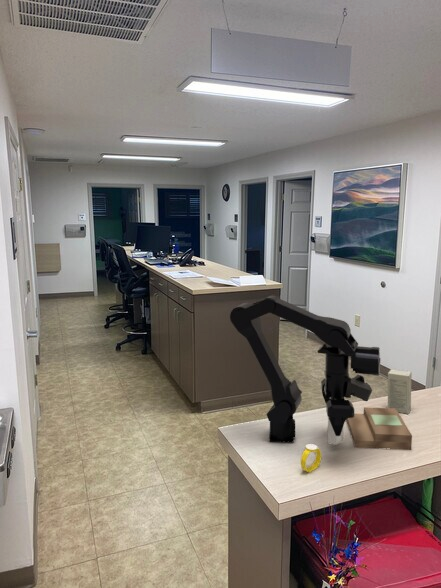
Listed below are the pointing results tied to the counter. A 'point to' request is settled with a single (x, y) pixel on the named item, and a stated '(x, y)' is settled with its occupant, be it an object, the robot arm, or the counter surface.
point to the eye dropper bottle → (333, 435)
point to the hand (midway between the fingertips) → (335, 427)
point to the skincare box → (399, 390)
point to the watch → (305, 454)
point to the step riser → (379, 429)
